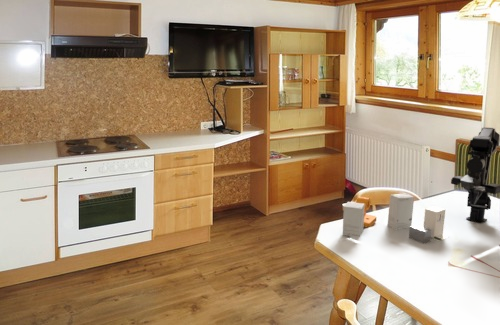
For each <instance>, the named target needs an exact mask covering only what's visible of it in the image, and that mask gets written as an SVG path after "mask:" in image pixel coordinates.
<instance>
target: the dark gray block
mask: <svg viewBox="0 0 500 325" xmlns="http://www.w3.org/2000/svg"><path fill="white" fill-rule="evenodd" d="M431 231H432V230H431V229H428V228H425V227H424V226H421V225H420V224H413V225H411V226H410V228H409V230H408V239H411V240H413V241H415V242H419V243H421V244H423V245H425V244H427V243H430V242H431V239H432V238H431Z"/></svg>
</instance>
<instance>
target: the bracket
mask: <svg viewBox="0 0 500 325" xmlns="http://www.w3.org/2000/svg"><path fill="white" fill-rule="evenodd" d="M355 203H363V204H365V208H364V226H363V228H372V227H373V226H375V224H376V222H377V216H376V215H371V214H367V211H369V210H370V207H371V198H369V197H365V196H358V197H357V198H356V201H355Z"/></svg>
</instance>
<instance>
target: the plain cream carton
mask: <svg viewBox="0 0 500 325" xmlns="http://www.w3.org/2000/svg"><path fill="white" fill-rule="evenodd" d="M445 217H446V209H445V208H442V207H438V206H435V205H433V206H431V207H430V206H429V207H427V208H425V209H424V217H423V219H424V221H423V227H425V228H428V229H431V230H432V231H431V239H434V238H436V239H439V240H440V241H442V240H441V238H438V237H440V236H442V235H444V228H445V227H444V226H445Z"/></svg>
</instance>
